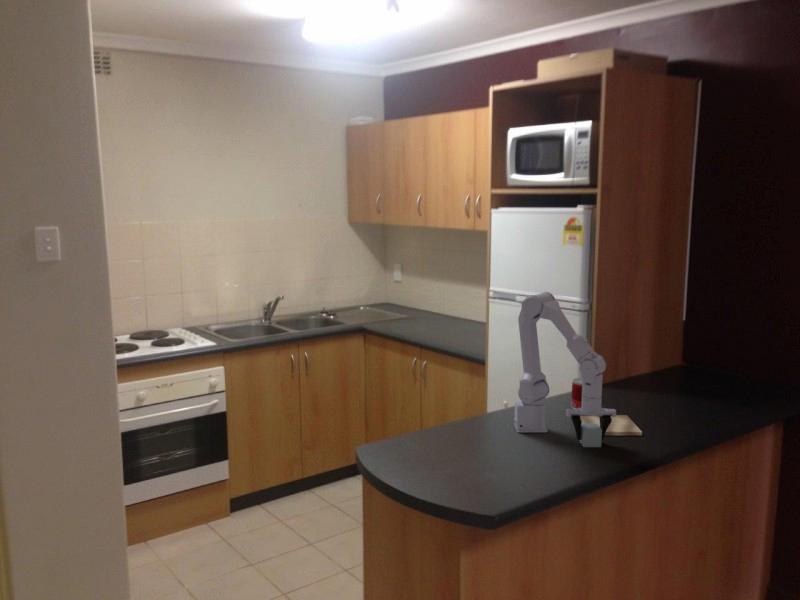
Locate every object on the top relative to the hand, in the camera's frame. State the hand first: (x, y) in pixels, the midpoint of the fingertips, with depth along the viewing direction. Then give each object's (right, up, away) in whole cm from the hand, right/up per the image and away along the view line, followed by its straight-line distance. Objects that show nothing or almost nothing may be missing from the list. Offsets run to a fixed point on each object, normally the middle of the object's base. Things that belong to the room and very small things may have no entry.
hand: (589, 439), depth 215 cm
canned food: (+5, +3, +30) cm, 30 cm away
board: (+9, +1, +15) cm, 18 cm away
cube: (0, -2, 0) cm, 2 cm away
